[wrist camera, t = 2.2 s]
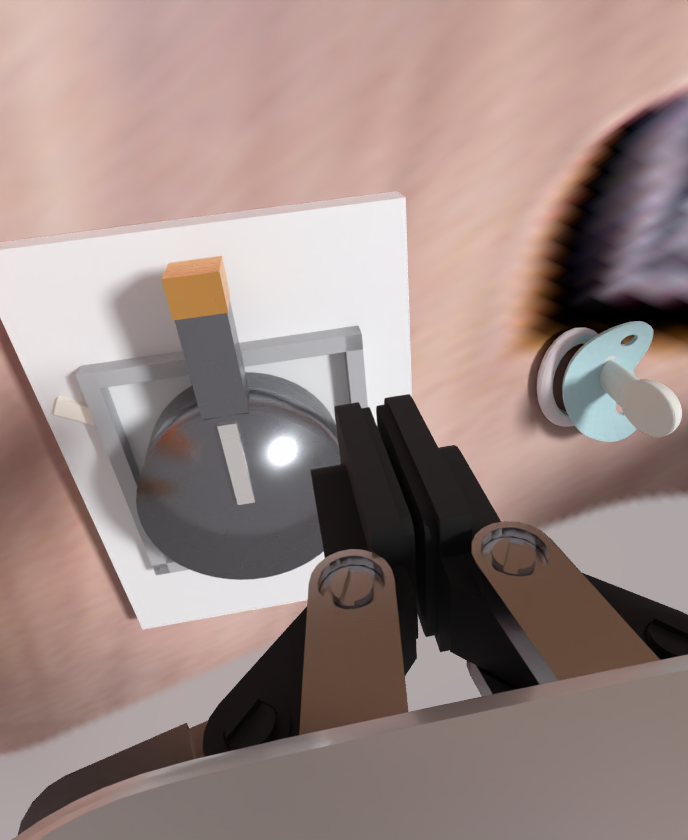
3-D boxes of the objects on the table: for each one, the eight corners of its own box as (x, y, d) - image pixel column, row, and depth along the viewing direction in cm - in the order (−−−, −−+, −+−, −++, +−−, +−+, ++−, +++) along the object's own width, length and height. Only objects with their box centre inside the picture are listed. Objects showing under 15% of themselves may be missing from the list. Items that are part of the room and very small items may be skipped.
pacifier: (532, 434, 34) (629, 411, 34) (580, 500, 29) (695, 474, 28) (531, 325, 30) (640, 299, 30) (586, 379, 25) (719, 348, 24)
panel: (397, 191, 25) (411, 201, 23) (411, 562, 38) (421, 592, 36) (-14, 243, 24) (-40, 260, 21) (146, 609, 37) (140, 643, 34)
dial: (348, 510, 32) (360, 564, 29) (177, 539, 32) (168, 598, 28) (315, 231, 24) (326, 258, 20) (79, 262, 23) (48, 296, 20)
